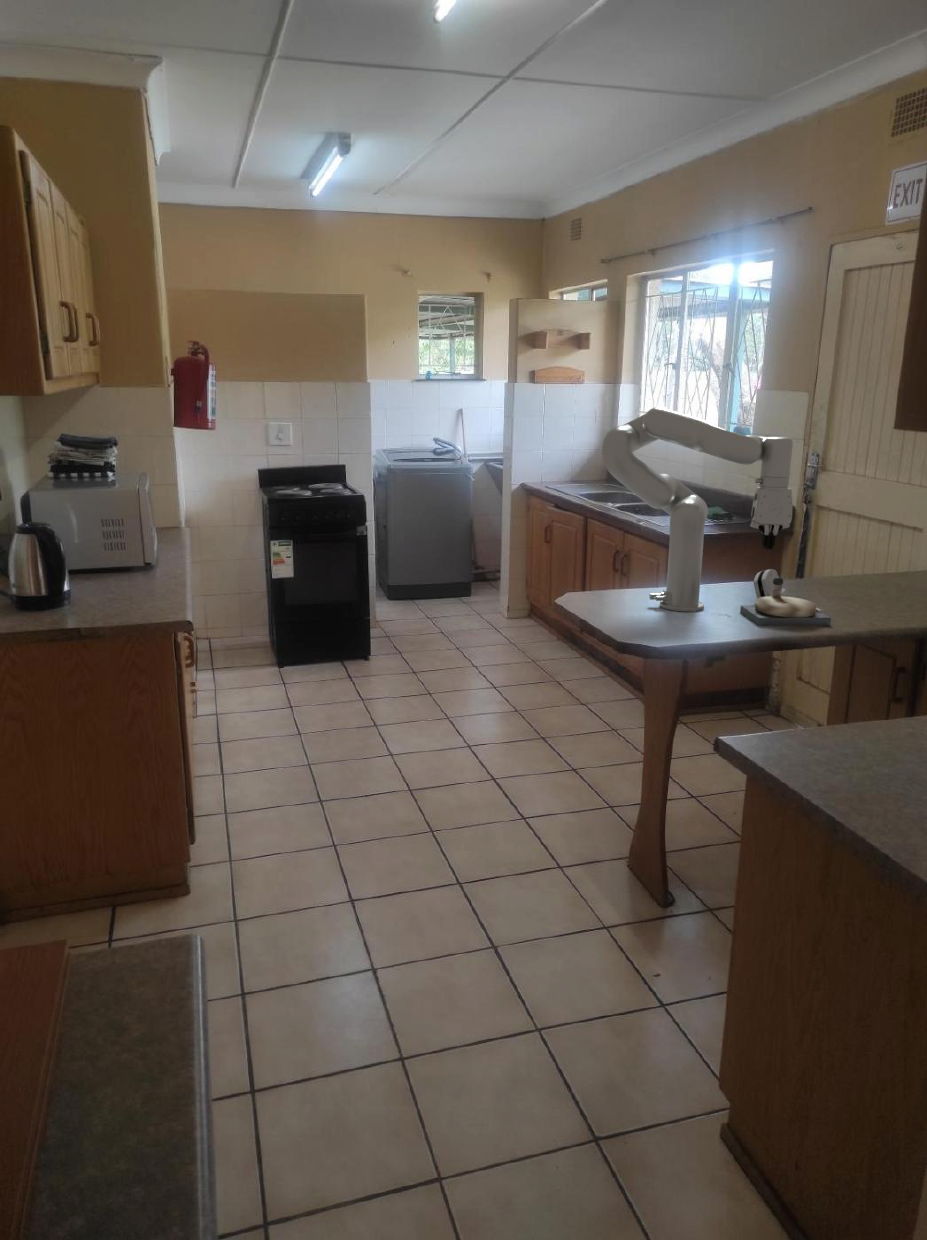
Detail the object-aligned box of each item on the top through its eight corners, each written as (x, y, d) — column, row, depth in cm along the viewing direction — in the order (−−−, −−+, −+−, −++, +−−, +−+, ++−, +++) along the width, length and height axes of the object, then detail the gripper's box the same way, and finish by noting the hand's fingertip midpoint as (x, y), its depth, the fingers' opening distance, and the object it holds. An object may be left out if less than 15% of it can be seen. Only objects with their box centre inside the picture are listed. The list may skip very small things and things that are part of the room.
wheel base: (758, 625, 238) (759, 615, 237) (740, 612, 251) (740, 603, 250) (830, 625, 239) (831, 615, 238) (808, 612, 252) (809, 602, 251)
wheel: (767, 617, 236) (770, 588, 234) (746, 602, 251) (749, 575, 249) (825, 617, 237) (829, 588, 235) (800, 602, 252) (803, 575, 250)
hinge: (775, 606, 259) (766, 573, 258) (759, 609, 262) (750, 577, 261) (787, 594, 273) (779, 564, 272) (772, 597, 275) (764, 567, 275)
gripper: (752, 484, 236) (746, 551, 241) (806, 484, 237) (799, 550, 241) (742, 481, 243) (736, 546, 248) (795, 481, 244) (788, 546, 249)
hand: (767, 548), depth 245 cm, fingers closed
